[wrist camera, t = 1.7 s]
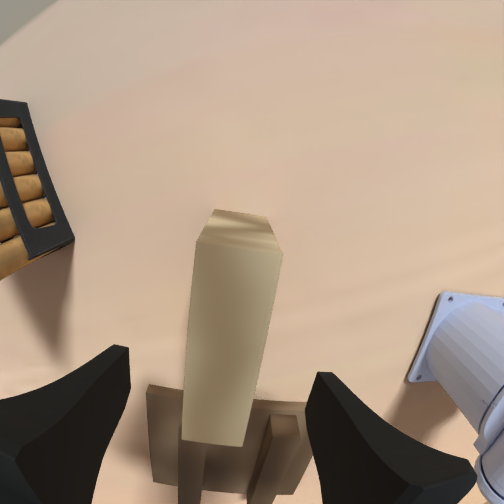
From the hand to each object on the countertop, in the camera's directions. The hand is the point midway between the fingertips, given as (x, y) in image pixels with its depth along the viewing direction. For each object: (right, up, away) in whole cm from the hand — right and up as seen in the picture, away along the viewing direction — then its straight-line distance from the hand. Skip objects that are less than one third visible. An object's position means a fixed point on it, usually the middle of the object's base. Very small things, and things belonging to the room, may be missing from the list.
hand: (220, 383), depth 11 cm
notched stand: (-1, -12, +13) cm, 18 cm away
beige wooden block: (0, +2, +9) cm, 9 cm away
